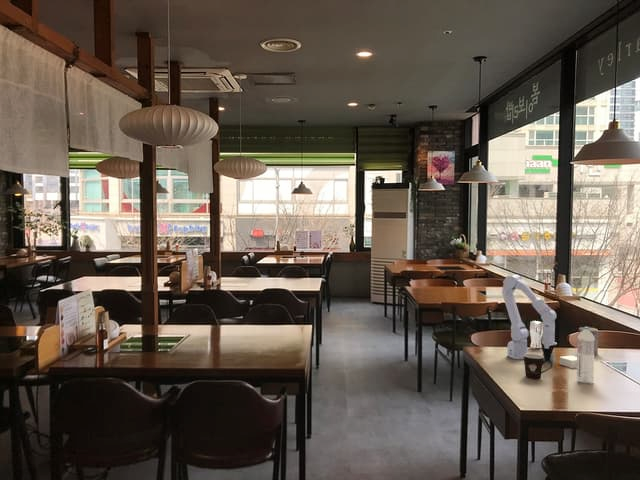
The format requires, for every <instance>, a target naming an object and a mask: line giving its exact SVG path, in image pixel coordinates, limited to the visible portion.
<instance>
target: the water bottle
mask: <svg viewBox="0 0 640 480" xmlns="http://www.w3.org/2000/svg"><path fill="white" fill-rule="evenodd" d="M589 328H590V326H589V327H588V326H584V330H583V331H582V332H580V333H579V332H578V335H577V352H576V353H577V355H576V357H577V368H576V382H578V383H580V384H585V385H591V384H594V378H595V377H594V376H595V374H594V373H595V355H594V340H595V337H594V335H593V334H592V333H591V332H590V331H588V329H589Z"/></svg>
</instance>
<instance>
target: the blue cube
mask: <svg viewBox="0 0 640 480" xmlns="http://www.w3.org/2000/svg"><path fill="white" fill-rule="evenodd" d="M541 356H543V357H544V354H543V352H542V354H541ZM543 361H545V359H543ZM550 361H551V362H552V365H553V364H554V363H555V352H552V353H551V357H550ZM544 364H548V365H551V363H550V362H545V363H544Z"/></svg>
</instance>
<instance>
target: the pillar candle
mask: <svg viewBox="0 0 640 480" xmlns="http://www.w3.org/2000/svg"><path fill="white" fill-rule="evenodd" d="M584 327H585V326H584ZM584 327H583V326H582V327H581V326H580V327H579V328H578V334H579V333H580V332H582V331H583V330H584ZM587 327H589V329H588V331H590V332H591V333H592V334H593V335H594V337H595V340H594V356H596V354H597V355H598V353H599V352H598V351H599V349H598V348H599V330H598V329H597V328H595V327H590V326H587Z"/></svg>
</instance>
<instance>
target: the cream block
mask: <svg viewBox="0 0 640 480" xmlns="http://www.w3.org/2000/svg"><path fill="white" fill-rule="evenodd" d="M558 359H559V363H558V364H559V365H562V366H563V367H564V366H565V367H567V368H570V369H577V356H574V355H563V356H559V357H558Z"/></svg>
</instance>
